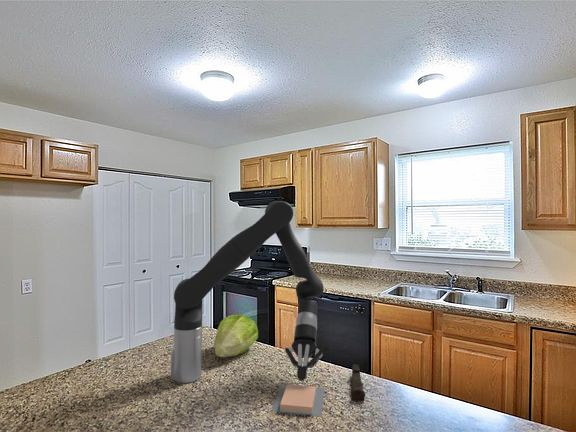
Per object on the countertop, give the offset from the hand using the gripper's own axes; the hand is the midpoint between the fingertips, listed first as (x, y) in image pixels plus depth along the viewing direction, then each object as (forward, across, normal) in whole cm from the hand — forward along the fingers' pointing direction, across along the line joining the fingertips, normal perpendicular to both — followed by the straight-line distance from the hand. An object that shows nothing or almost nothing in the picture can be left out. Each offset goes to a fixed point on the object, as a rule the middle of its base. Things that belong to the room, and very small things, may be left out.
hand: (301, 380), depth 104 cm
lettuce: (-16, -32, +23) cm, 42 cm away
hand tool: (-2, +17, +8) cm, 19 cm away
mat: (+6, 0, 0) cm, 6 cm away
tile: (+2, 0, +2) cm, 3 cm away
